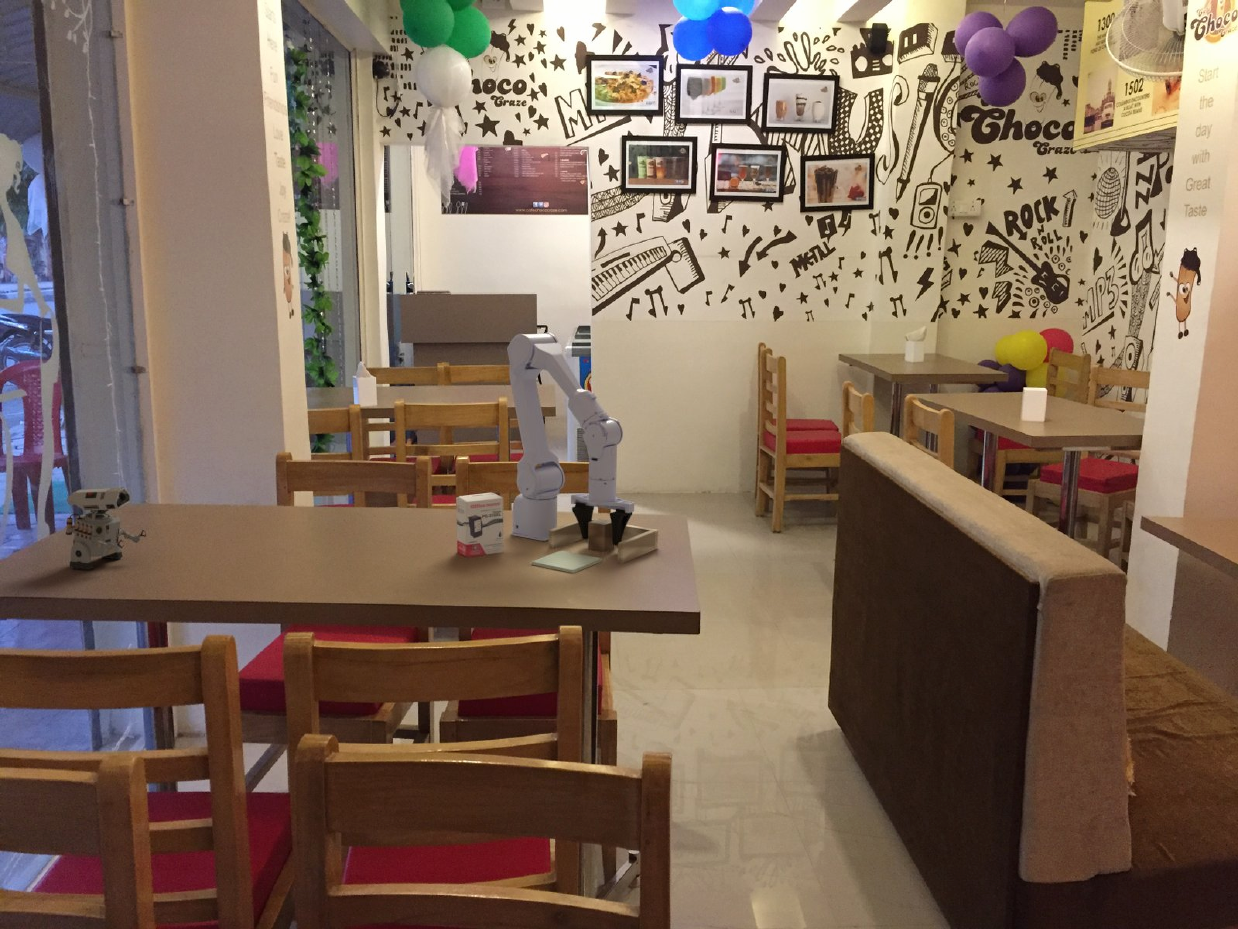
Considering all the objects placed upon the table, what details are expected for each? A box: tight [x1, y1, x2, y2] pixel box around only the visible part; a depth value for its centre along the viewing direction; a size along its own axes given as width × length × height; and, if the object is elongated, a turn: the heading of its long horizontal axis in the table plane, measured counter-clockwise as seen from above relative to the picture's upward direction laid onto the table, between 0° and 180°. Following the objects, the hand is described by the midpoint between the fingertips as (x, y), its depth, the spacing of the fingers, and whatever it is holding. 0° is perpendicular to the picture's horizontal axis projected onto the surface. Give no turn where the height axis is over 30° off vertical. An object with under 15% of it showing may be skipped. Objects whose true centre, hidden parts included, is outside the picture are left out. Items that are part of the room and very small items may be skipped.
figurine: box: [65, 487, 147, 571], centre depth 192 cm, size 9×12×15 cm
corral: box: [548, 518, 659, 564], centre depth 210 cm, size 18×14×4 cm
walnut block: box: [587, 518, 616, 554], centre depth 210 cm, size 4×4×6 cm
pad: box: [531, 550, 603, 574], centre depth 200 cm, size 10×10×1 cm
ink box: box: [455, 492, 504, 558], centre depth 205 cm, size 8×5×12 cm, turn 123°
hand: (601, 541), depth 210 cm, fingers open, 7 cm apart
